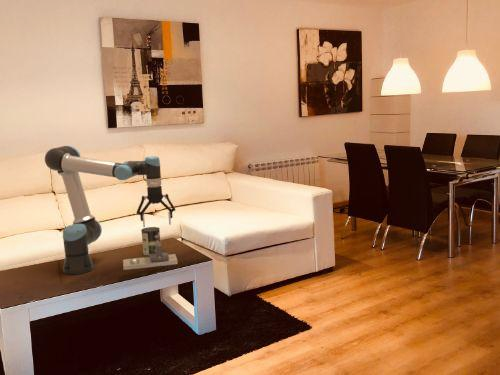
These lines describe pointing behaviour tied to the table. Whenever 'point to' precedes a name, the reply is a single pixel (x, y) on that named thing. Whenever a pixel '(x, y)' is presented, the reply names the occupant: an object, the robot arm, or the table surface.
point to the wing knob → (159, 254)
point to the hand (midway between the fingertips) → (157, 225)
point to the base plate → (147, 262)
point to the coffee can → (150, 239)
